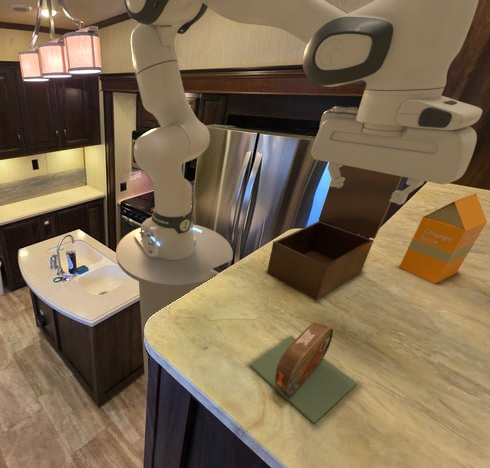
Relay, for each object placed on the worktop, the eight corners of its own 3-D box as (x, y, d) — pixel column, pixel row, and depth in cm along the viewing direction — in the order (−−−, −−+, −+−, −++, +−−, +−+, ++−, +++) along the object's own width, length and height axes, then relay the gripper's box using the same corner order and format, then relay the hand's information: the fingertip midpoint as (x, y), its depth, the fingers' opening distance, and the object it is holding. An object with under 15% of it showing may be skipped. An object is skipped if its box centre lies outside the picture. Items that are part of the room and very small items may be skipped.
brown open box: (316, 300, 67) (327, 267, 62) (266, 272, 77) (273, 241, 72) (361, 272, 74) (373, 240, 70) (310, 250, 85) (318, 220, 80)
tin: (285, 404, 47) (296, 371, 42) (266, 390, 49) (275, 357, 45) (328, 354, 54) (341, 322, 50) (310, 343, 56) (321, 312, 52)
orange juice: (457, 273, 71) (502, 198, 62) (435, 283, 69) (479, 207, 59) (418, 257, 78) (454, 187, 68) (397, 267, 75) (431, 195, 65)
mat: (249, 365, 54) (249, 364, 53) (290, 337, 58) (291, 336, 58) (313, 424, 44) (314, 422, 44) (356, 385, 49) (357, 383, 49)
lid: (410, 154, 60) (420, 152, 63) (343, 145, 71) (353, 143, 73) (373, 239, 69) (383, 234, 71) (318, 219, 80) (328, 216, 82)
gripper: (314, 107, 51) (296, 182, 57) (482, 117, 35) (430, 219, 41) (335, 103, 53) (316, 176, 60) (501, 111, 37) (449, 208, 44)
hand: (363, 194), depth 51 cm, fingers open, 8 cm apart
